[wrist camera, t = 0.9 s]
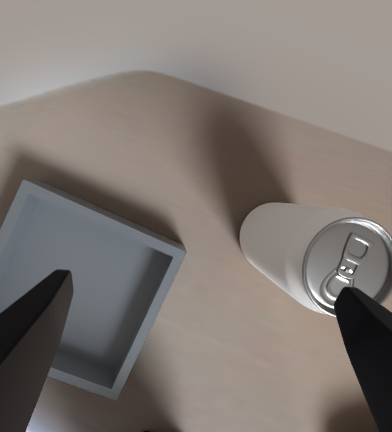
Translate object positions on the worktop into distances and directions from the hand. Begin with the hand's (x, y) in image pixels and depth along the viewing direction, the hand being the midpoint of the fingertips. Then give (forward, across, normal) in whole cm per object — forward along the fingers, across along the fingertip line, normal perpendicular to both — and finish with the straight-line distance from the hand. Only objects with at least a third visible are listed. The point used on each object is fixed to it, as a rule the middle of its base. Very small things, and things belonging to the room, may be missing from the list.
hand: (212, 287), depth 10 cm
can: (+15, -9, +8) cm, 19 cm away
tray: (+12, +8, +13) cm, 20 cm away
